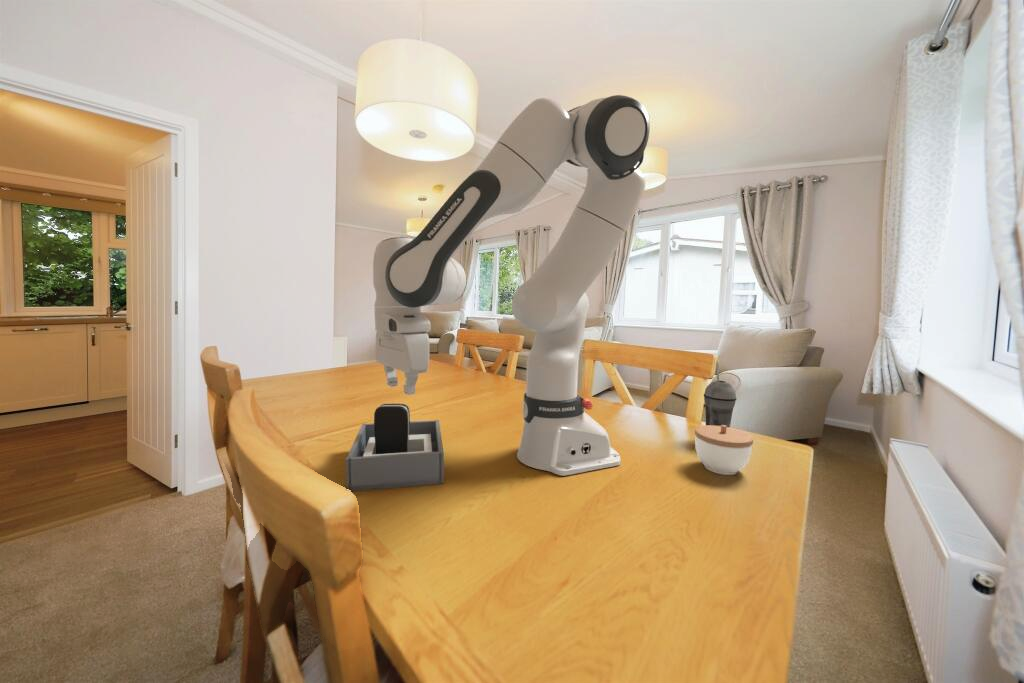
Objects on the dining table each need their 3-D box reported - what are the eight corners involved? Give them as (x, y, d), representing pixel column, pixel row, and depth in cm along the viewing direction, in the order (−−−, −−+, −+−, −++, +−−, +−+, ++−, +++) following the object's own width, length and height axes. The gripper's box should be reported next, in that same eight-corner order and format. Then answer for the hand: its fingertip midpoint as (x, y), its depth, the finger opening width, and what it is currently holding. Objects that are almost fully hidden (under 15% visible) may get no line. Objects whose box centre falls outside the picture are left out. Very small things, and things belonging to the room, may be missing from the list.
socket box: (438, 444, 92) (438, 420, 92) (443, 483, 73) (443, 452, 72) (362, 449, 89) (362, 423, 88) (346, 491, 69) (345, 459, 69)
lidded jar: (762, 475, 79) (766, 431, 78) (724, 484, 75) (728, 437, 74) (716, 455, 89) (719, 416, 88) (681, 462, 85) (684, 420, 84)
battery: (411, 453, 84) (411, 401, 83) (408, 460, 81) (407, 406, 79) (378, 453, 84) (377, 401, 83) (373, 460, 80) (372, 406, 79)
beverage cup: (737, 448, 94) (744, 366, 92) (704, 445, 96) (710, 364, 93) (727, 438, 101) (733, 361, 99) (697, 435, 103) (702, 360, 101)
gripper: (366, 320, 84) (369, 383, 86) (401, 323, 68) (404, 401, 69) (395, 319, 88) (397, 380, 89) (434, 322, 72) (436, 396, 73)
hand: (400, 389), depth 79 cm, fingers open, 8 cm apart
